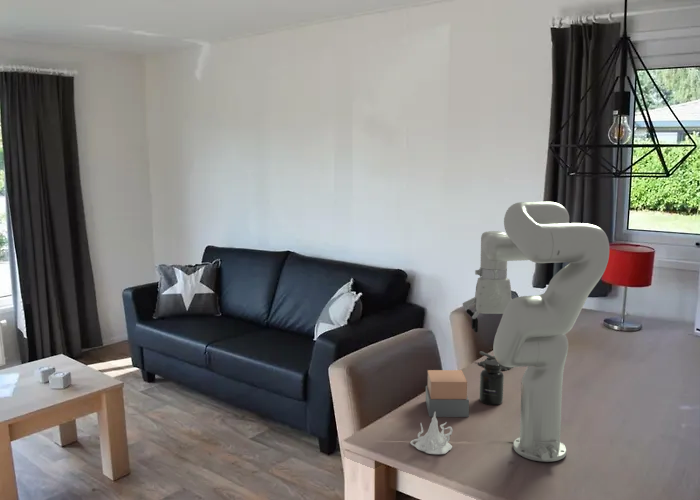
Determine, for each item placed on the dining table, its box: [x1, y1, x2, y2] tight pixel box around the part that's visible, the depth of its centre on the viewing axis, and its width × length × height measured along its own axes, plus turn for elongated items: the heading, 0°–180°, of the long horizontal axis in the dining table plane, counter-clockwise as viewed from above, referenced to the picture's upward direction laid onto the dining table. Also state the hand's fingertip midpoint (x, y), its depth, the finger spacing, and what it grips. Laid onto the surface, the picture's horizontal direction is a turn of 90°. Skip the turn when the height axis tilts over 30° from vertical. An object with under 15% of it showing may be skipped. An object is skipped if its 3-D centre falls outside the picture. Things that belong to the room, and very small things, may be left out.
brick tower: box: [425, 369, 470, 418], centre depth 172 cm, size 11×11×10 cm
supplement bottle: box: [479, 360, 505, 406], centre depth 177 cm, size 7×7×12 cm
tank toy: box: [477, 351, 514, 372], centre depth 209 cm, size 12×10×5 cm
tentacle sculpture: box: [409, 412, 454, 455], centre depth 149 cm, size 9×12×9 cm
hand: (491, 331), depth 176 cm, fingers open, 9 cm apart
